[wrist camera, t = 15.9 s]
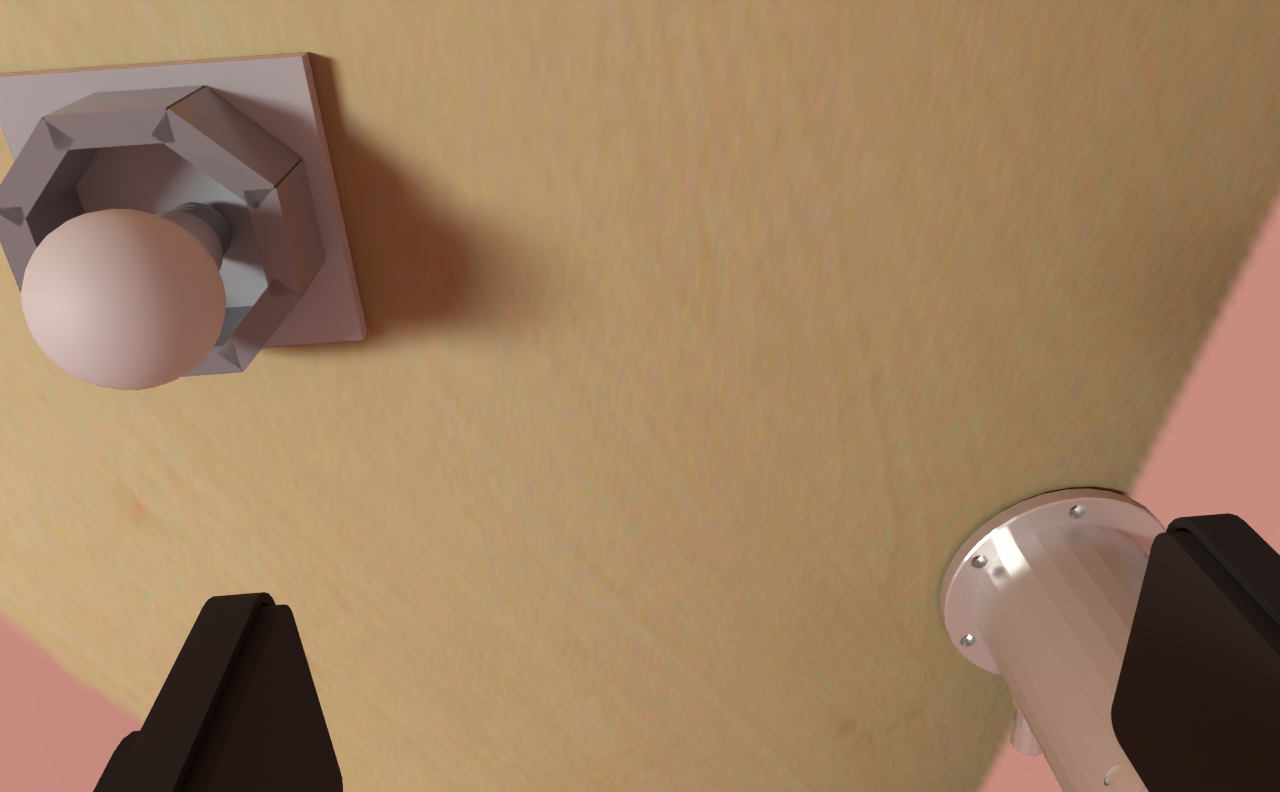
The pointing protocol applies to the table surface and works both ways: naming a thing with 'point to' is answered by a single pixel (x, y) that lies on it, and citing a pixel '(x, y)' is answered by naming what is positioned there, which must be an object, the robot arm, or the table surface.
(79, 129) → the socket
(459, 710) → the table surface
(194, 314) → the lightbulb
